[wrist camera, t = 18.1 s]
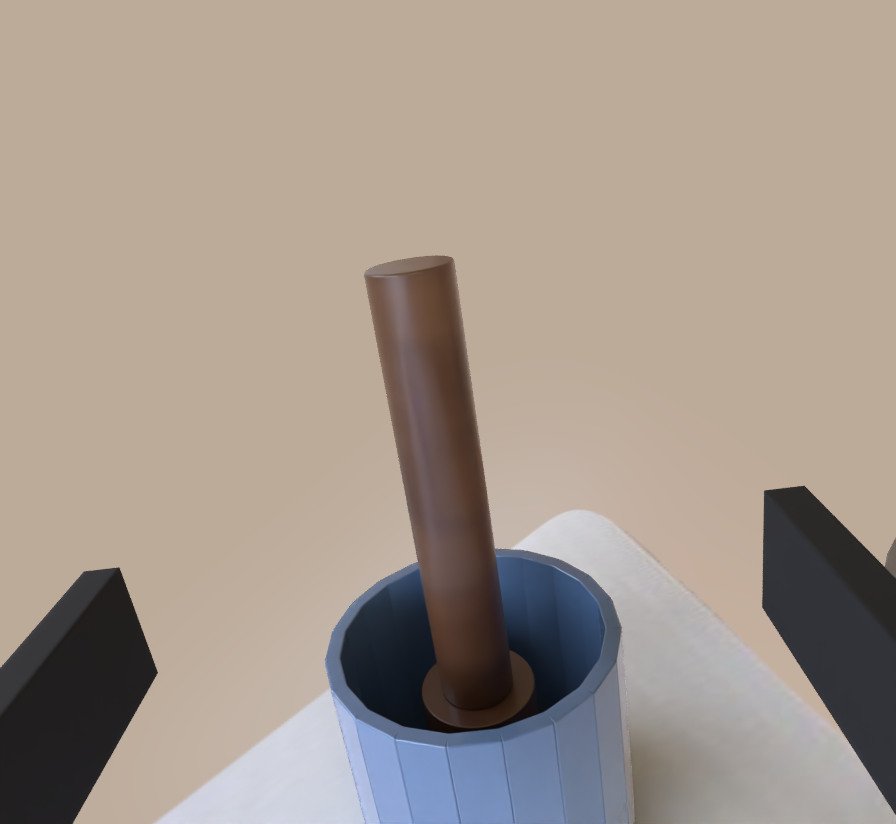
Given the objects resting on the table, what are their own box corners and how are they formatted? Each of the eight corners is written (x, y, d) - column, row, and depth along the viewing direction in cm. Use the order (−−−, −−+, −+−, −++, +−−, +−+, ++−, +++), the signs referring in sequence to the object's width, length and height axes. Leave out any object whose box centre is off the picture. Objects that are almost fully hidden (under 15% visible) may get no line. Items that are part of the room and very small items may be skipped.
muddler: (544, 764, 27) (477, 243, 20) (558, 857, 24) (482, 266, 17) (448, 774, 28) (348, 263, 21) (446, 868, 24) (325, 289, 17)
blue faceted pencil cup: (606, 717, 30) (590, 535, 27) (667, 954, 21) (655, 726, 18) (389, 740, 31) (348, 564, 28) (361, 979, 22) (298, 763, 19)
